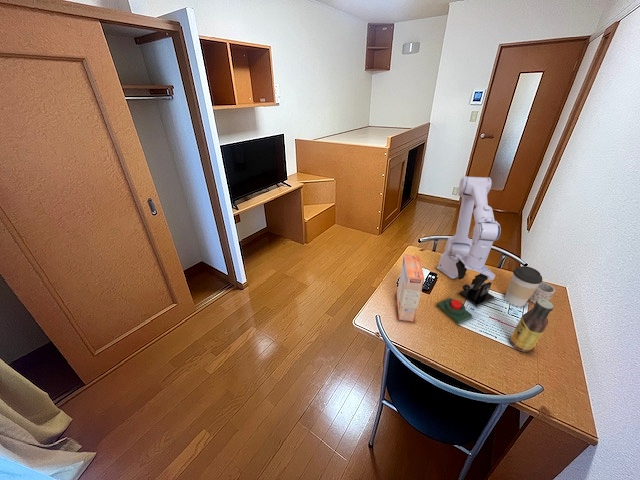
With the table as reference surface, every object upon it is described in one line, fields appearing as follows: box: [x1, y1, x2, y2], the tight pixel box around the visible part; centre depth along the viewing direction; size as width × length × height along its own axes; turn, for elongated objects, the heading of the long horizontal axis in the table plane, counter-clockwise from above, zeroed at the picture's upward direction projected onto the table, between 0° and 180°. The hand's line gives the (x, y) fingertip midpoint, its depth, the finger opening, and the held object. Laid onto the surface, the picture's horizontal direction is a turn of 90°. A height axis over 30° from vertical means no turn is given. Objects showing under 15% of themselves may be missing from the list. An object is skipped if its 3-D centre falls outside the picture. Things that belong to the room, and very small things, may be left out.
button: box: [450, 299, 463, 310], centre depth 97 cm, size 4×4×2 cm
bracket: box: [459, 278, 495, 308], centre depth 104 cm, size 10×8×8 cm
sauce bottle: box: [509, 299, 555, 353], centre depth 81 cm, size 6×6×20 cm
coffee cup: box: [504, 265, 543, 307], centre depth 100 cm, size 9×9×15 cm
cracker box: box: [396, 253, 425, 323], centre depth 97 cm, size 14×6×21 cm, turn 168°
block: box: [436, 297, 473, 325], centre depth 98 cm, size 10×7×4 cm
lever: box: [462, 281, 487, 291], centre depth 101 cm, size 12×3×3 cm, turn 115°
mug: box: [528, 281, 556, 304], centre depth 103 cm, size 10×7×7 cm
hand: (467, 283), depth 98 cm, fingers open, 6 cm apart
